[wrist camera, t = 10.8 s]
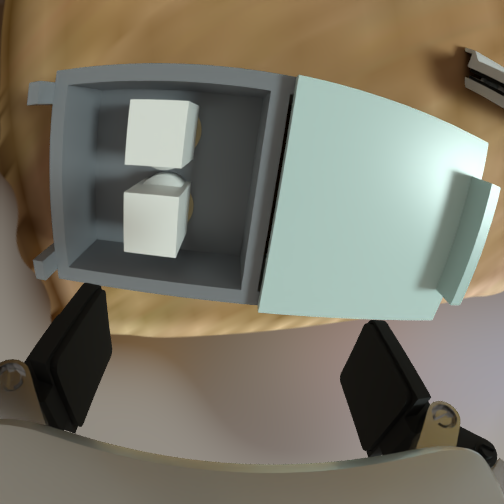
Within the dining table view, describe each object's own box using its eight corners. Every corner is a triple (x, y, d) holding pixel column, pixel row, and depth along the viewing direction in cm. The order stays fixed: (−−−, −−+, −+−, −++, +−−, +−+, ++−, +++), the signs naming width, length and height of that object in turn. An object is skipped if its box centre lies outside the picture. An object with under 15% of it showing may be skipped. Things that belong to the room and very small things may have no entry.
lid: (296, 76, 16) (308, 67, 13) (482, 141, 18) (509, 148, 15) (257, 306, 23) (260, 333, 20) (428, 315, 24) (445, 336, 21)
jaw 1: (152, 103, 22) (130, 99, 17) (199, 106, 22) (189, 101, 17) (146, 164, 24) (124, 175, 19) (192, 167, 24) (180, 179, 19)
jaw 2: (146, 169, 24) (124, 181, 19) (191, 173, 24) (179, 186, 19) (144, 226, 26) (124, 251, 21) (186, 231, 26) (175, 257, 21)
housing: (87, 80, 21) (31, 70, 13) (436, 133, 24) (497, 145, 16) (83, 244, 28) (38, 288, 19) (397, 279, 31) (437, 326, 23)
